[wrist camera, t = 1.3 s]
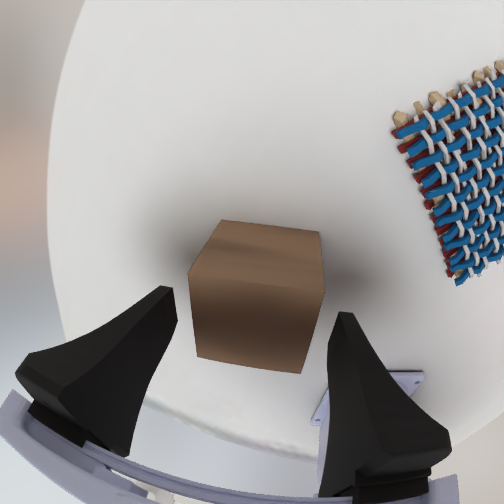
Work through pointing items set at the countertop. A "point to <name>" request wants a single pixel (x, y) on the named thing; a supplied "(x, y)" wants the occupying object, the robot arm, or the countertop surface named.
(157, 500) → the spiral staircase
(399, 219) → the countertop surface
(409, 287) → the countertop surface
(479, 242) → the woven mat
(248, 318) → the walnut block
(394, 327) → the countertop surface
